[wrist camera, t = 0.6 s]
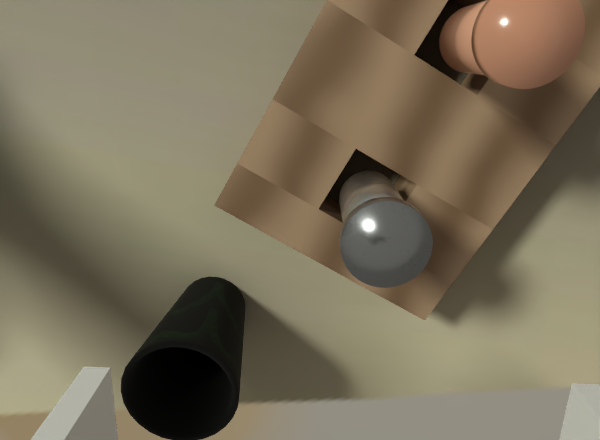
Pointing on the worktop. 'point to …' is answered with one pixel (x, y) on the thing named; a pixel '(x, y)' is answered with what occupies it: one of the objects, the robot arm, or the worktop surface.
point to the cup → (190, 364)
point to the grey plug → (381, 232)
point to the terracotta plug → (514, 40)
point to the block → (400, 138)
